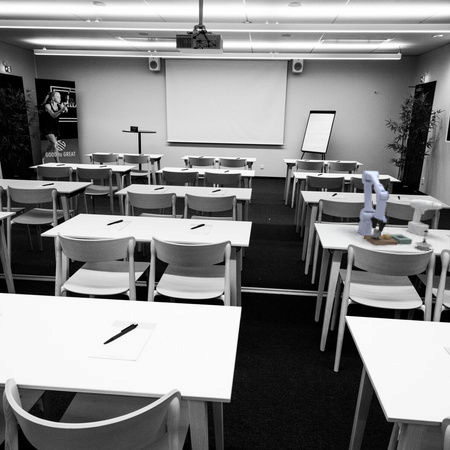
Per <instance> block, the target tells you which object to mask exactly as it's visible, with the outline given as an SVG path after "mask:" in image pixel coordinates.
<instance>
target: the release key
mask: <svg viewBox="0 0 450 450" xmlns="http://www.w3.org/2000/svg"><path fill="white" fill-rule="evenodd" d="M390 234H391V233H383V234H382V235H383V236H384V239H390V237H392V235H390Z"/></svg>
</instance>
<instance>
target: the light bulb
mask: <svg viewBox="0 0 450 450" xmlns="http://www.w3.org/2000/svg"><path fill="white" fill-rule="evenodd" d="M424 232H426V233H427V234H428V233H429V230H428V231H427V230H425V231H424ZM426 233H425V236H423V237H424V238H422V241H415V243H414V244H415V245H416V246H417V249H418V248H419V249H418V250H422V251H429V250H428V249H430V248H431V247H433V244H430V243H428V242H427V238H426V236H427V235H426Z"/></svg>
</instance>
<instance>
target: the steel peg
mask: <svg viewBox="0 0 450 450" xmlns="http://www.w3.org/2000/svg"><path fill="white" fill-rule="evenodd" d="M372 234H373V240H379V236H380V234H381V232H379V228H378V229H377V228H376V229H373V233H372Z"/></svg>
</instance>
